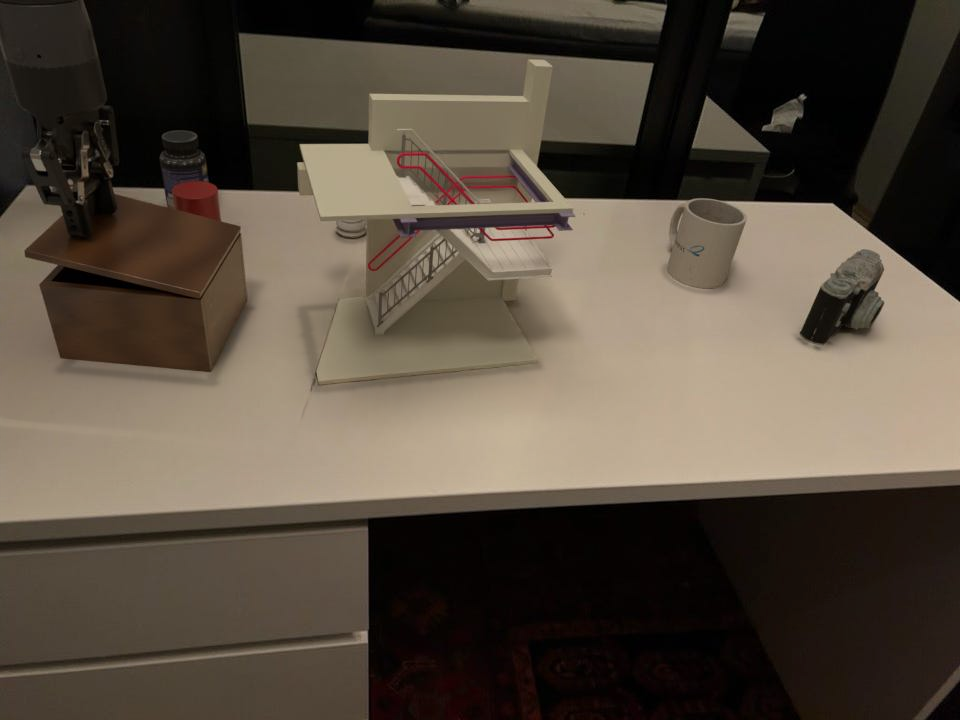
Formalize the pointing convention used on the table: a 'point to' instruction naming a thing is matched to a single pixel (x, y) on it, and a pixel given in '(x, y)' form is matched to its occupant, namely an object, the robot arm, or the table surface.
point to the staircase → (438, 230)
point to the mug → (704, 241)
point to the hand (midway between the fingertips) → (94, 223)
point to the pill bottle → (181, 161)
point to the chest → (144, 317)
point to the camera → (846, 298)
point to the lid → (141, 245)
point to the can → (197, 199)
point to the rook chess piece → (351, 228)
